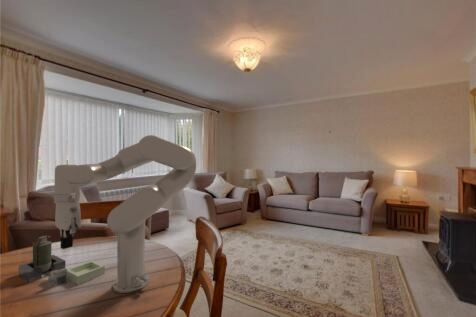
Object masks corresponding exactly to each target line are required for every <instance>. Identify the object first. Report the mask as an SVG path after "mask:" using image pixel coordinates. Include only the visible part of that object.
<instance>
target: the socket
mask: <svg viewBox="0 0 476 317" xmlns="http://www.w3.org/2000/svg"><path fill="white" fill-rule="evenodd" d="M51 263H52V271H54V270H60V269H63V268H65V269H66V260H65V259H63V258H62V257H58V255H55V254H51ZM18 275H20V276H19V277H20V278H22V279H23V280H25V281H26V282H28V283H29V284H30V283H33V282H36V281H38V280H42V278H43V275H42V268H40V267H39V268H36V269H34V265H33V260H32V261H28V262H24V263H21V264H18Z"/></svg>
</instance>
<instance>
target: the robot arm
mask: <svg viewBox="0 0 476 317" xmlns="http://www.w3.org/2000/svg"><path fill="white" fill-rule="evenodd" d="M151 162H155V163H158V164H161V165H163V166H166V167H170V168H172V170H170V171H169V172H168V173H166V174H164V175H163V176H162V177H160V178H159V179H157V180H155V182H153V183H152V184H149V185H147V186H144V187H142V188H141V189H139V190H138V191H137V192H135V193H133V194H132V195H131V196H130V197H128V198H126V199H125V200H124V201H122V202H121V203H120V204H118V205H116V206H115V207H114V208H113V209H111V211H110V212H109V214H108V215H107V219H106V224H107V227H108V229H109V230H110V231H111V232H112V233H115V234H117V241H116V242H117V244H116V246H117V248H116V250H117V251H116V252H117V254H116V255H117V256H116V259H117V264H116V265H117V274H116V276H117V278H116V280H114V282H113V283H112V289H113V291H114V292H116V293H121V294H124V293H125V294H126V293H132V292H135V291H138V290H141V289H143V288H145V287H146V286H147V285H148V284H149V282H150V277H149V275H148V274H147V271H145V270H146V262H145V261H146V252H145V251H146V250H145V246H146V245H145V243H146V241H145V240H146V222H147V219H149V218H150V217H151V216H152V215H154V214H155V213H157V212H158V211H159V210H160V209H161V208H162V207H163V206H165V204H166V203H167V202H168V201H169V200H171V199H172V198H173V197H174V196H176V195H177V194H178V193H179V192H181V191H182V190H183V189H184V188H186V187H187V186H188V185H189V183H190V182H192V179H193V178H194V176H195V175H196V169H197V159H196V155H195V153H194V151H193V150H191V149H190V148H188V147H186V146H184V145H179V144H177V143H174V142H171V141H169V140H166V139H163V138H160V136H156V135H154V134H153V135H152V134H151V135H150V134H149V135H146V136H143V137H142V138H141V139H140V140H139V142H137V143H135V144H132V145H130V146H127V147H124V148H122V149H119V150H118V152H117V154H116V155H115V156H113V157H111V158H109V159H106V160H104V161H101V162H98V163H89V164H88V163H87V164H86V163H84V164H79V165H78V164H59V165H56V166H55V168H54V194H53V196H54V199H53V200H54V201H53V203H54V204H56V205H55V212H54V216H55V217H54V218H55V219H54V224H55V227H56V228H58V229H59V234H60V248H61V249H62V250H64V249H68V248H72V247H73V245H74V244H73V243H74V234H76V232H77V230H76V228H77V229H80V228H81V227H82V216H81V214H82V213H81V204H80V200H81V198H80V194H81V193H80V192H81V191H80V190H81V186H87V185H88V186H89V185H93V184H97V183H98V184H99V183H102V182H104V181H107V180H111V179H112V178H115V177H117V176H119V175H122V174H125V173H127V172H129V171H131V170H133V169H137V168H139V167H142V166H144V165H146V164H148V163H151Z"/></svg>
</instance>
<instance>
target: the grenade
mask: <svg viewBox="0 0 476 317" xmlns="http://www.w3.org/2000/svg"><path fill="white" fill-rule="evenodd" d="M50 237H51V235H42V236H39V237H37V238H36V239H35V240H34V241H32V242H31V245H32V261H33V265H34V269H36V268H39V267H40V268H42V276H43V275H48V273H49V272H52V271H53V268H52V263H51V255H52V241H50V240H48V239H49V238H50ZM34 242H35V243H34Z"/></svg>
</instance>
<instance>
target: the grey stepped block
mask: <svg viewBox="0 0 476 317" xmlns="http://www.w3.org/2000/svg"><path fill="white" fill-rule="evenodd" d="M47 275H48V276H47V280H48V281H49V282H50V283H52V284H53V286H55V287H58V286H60V285H63V284H65V283H68V279H67V268H66V267H65V268H63V269H60V270H54V271H53V270H52V271H51V272H49V273H47Z"/></svg>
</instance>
